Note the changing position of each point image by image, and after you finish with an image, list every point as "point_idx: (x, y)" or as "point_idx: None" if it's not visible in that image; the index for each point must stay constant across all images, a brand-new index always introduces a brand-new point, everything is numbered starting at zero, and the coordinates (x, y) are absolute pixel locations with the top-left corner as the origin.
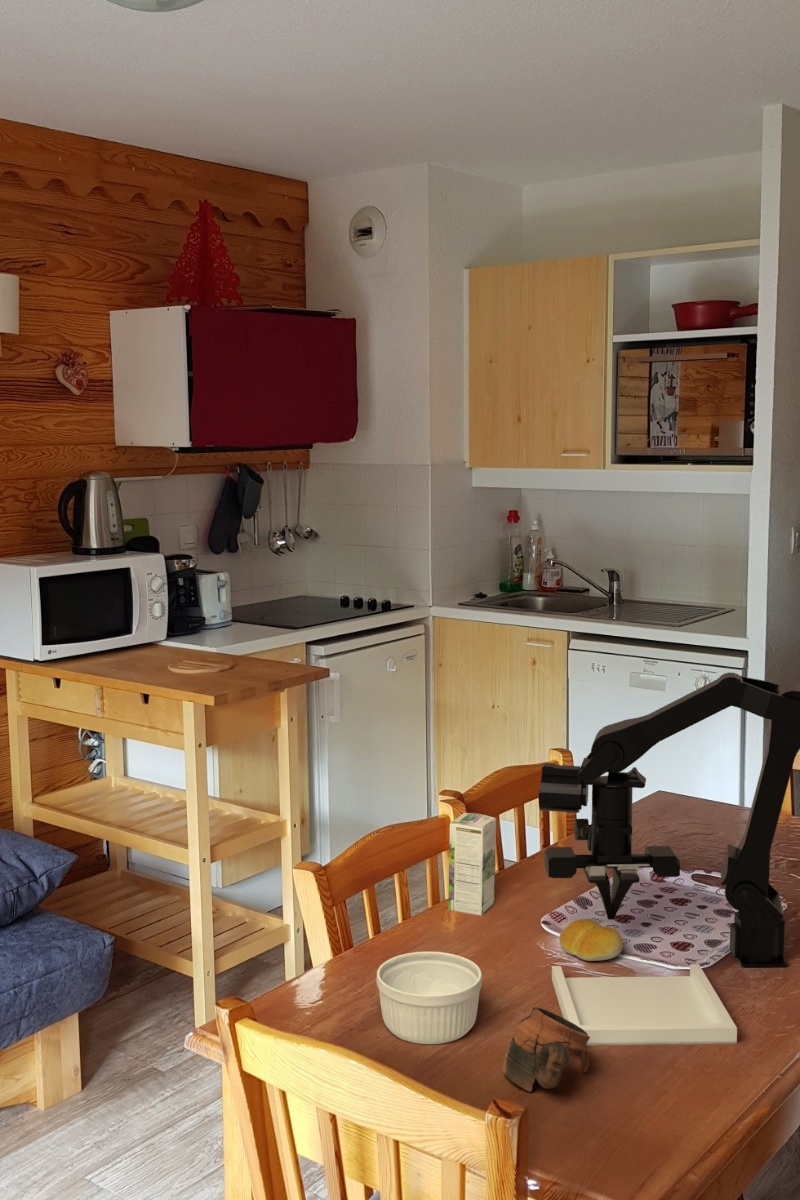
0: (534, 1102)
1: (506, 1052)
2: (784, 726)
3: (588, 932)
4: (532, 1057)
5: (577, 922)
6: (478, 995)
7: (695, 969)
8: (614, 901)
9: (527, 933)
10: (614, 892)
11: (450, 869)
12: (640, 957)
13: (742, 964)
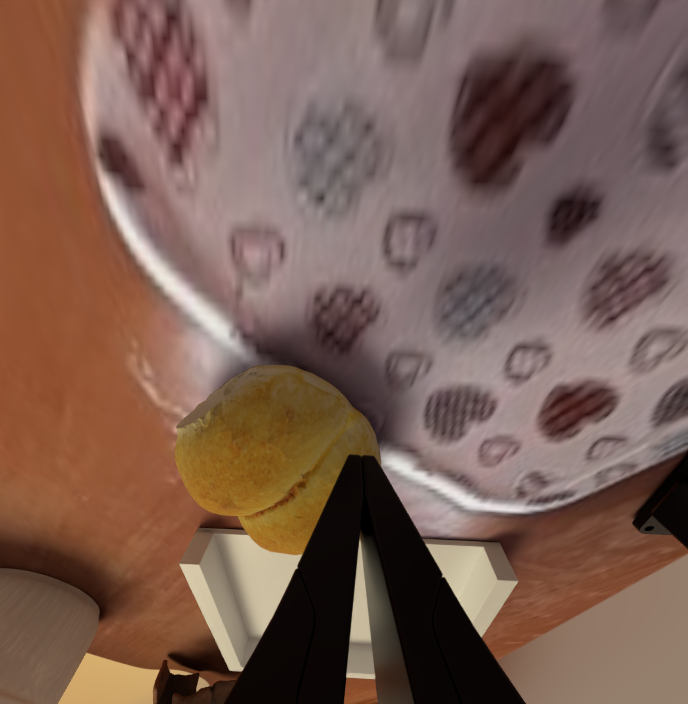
0: (204, 676)
1: (153, 692)
2: None
3: (256, 535)
4: None
5: (210, 500)
6: (58, 689)
7: (495, 593)
8: (370, 632)
9: (73, 284)
10: (386, 697)
11: None
12: (417, 462)
13: (638, 529)
